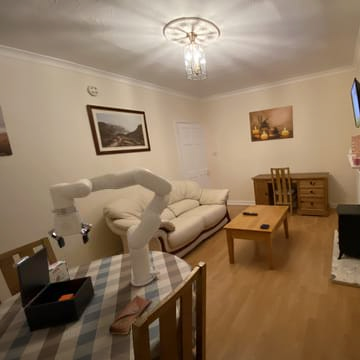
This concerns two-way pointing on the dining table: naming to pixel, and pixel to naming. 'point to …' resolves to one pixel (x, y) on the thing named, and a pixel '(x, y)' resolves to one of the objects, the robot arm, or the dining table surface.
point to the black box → (59, 303)
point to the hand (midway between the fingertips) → (74, 244)
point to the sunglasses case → (129, 316)
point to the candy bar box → (58, 272)
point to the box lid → (32, 275)
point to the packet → (66, 297)
